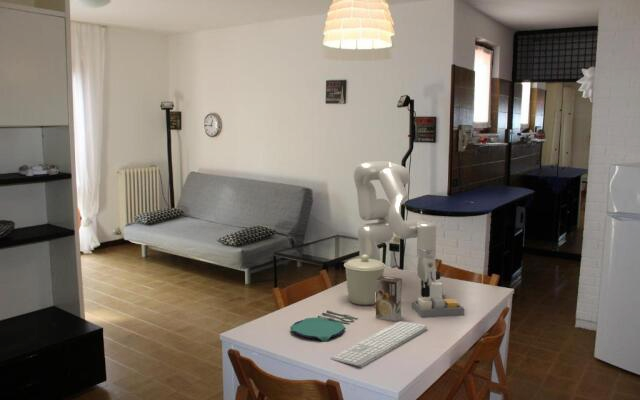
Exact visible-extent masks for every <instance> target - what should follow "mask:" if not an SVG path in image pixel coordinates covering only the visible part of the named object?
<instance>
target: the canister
mask: <svg viewBox="0 0 640 400" xmlns="http://www.w3.org/2000/svg"><path fill="white" fill-rule="evenodd" d="M343 267H344V268H345V278H346V286H347V294H348V298H349V300H350V302H351V303H353V304H355V305H359V306H369V305H374V304H375V305H376V303H375V292H376V279H378V278H379V277H380V276H384V272H385V268H386V267H387V265H386V264H385V263H384V262H382V261H381V260H380V261H379V260H376V259H369V256H368V255H366V254H363V255H362V256H361V258H360V257H358V258H352V259H350V260H348V261H347V262H345V263H344V264H343Z"/></svg>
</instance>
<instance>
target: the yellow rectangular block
mask: <svg viewBox="0 0 640 400" xmlns="http://www.w3.org/2000/svg"><path fill="white" fill-rule="evenodd" d="M442 299H443V300H444V301H445V305H446V306H447V307H449V308H457V305H458V304H459V303H458V302H457V301H456V300H455V299H453V298H442Z"/></svg>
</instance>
